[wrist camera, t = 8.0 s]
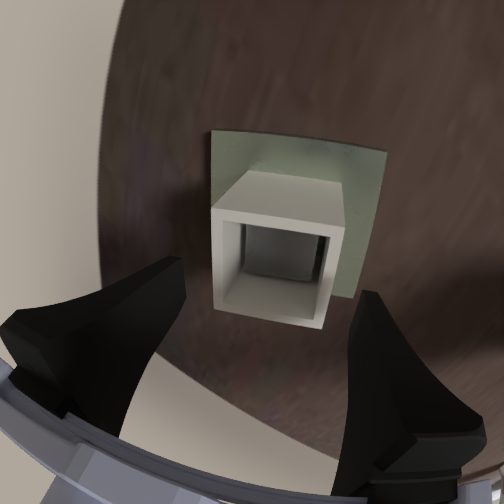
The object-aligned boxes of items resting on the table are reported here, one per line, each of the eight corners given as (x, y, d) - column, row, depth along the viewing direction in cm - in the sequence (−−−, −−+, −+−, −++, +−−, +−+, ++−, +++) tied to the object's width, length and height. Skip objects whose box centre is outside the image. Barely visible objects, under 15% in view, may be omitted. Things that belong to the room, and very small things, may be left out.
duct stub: (384, 149, 15) (400, 167, 12) (352, 291, 21) (353, 334, 17) (216, 128, 17) (185, 140, 14) (216, 267, 22) (193, 303, 19)
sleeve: (327, 264, 19) (321, 329, 14) (245, 250, 20) (213, 308, 15) (341, 183, 16) (345, 227, 11) (248, 170, 17) (210, 207, 12)
